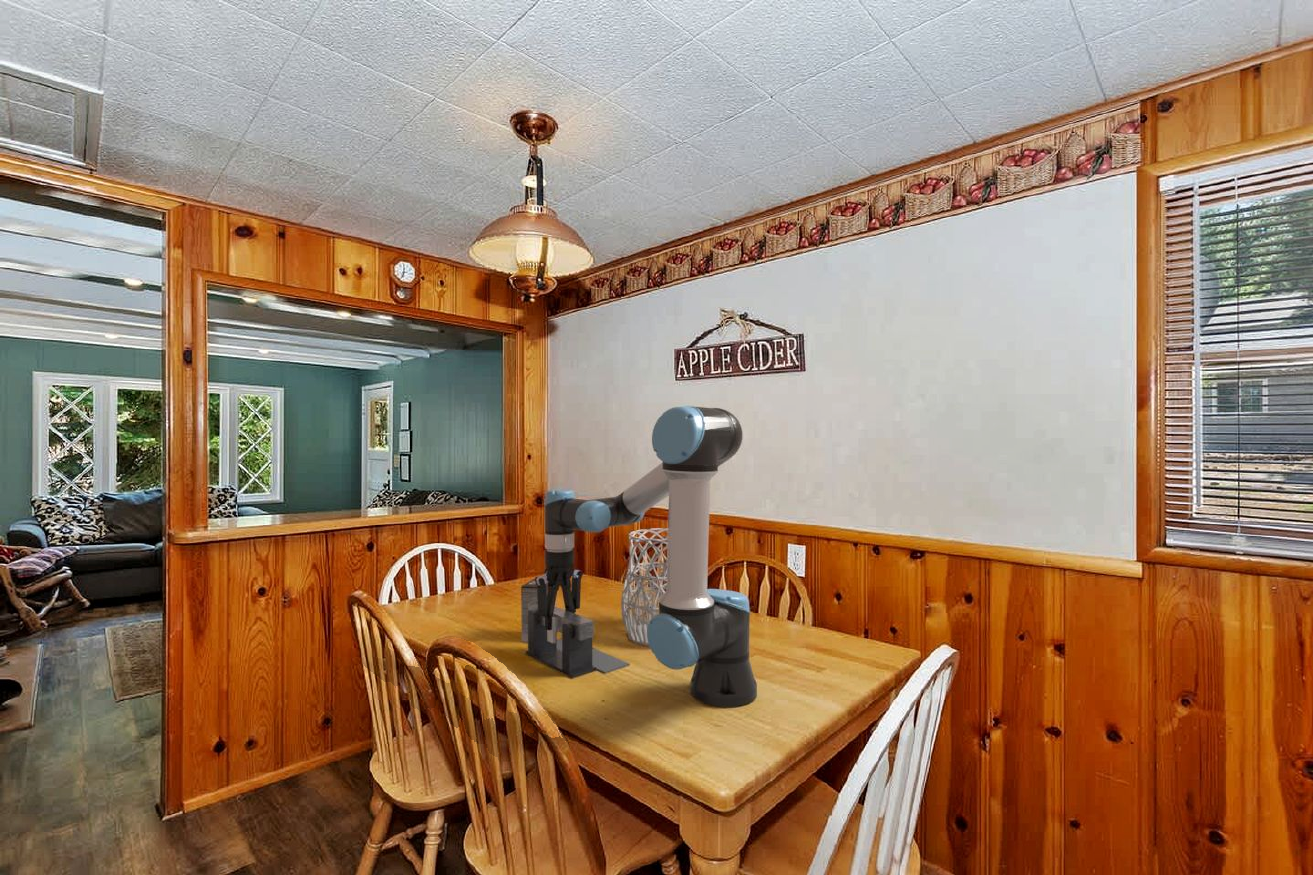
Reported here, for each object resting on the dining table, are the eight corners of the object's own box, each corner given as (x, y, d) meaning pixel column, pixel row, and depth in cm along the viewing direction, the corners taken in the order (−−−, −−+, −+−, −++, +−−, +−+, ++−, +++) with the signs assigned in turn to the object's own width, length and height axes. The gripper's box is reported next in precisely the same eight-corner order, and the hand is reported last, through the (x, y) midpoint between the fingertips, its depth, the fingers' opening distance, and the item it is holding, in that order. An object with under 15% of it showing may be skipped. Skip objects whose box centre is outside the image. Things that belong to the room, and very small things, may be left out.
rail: (593, 636, 148) (593, 620, 148) (580, 640, 145) (580, 624, 145) (540, 615, 166) (540, 601, 166) (528, 618, 163) (528, 603, 163)
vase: (658, 656, 160) (659, 543, 159) (604, 634, 178) (604, 532, 178) (720, 636, 175) (721, 533, 175) (665, 617, 194) (665, 524, 194)
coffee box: (533, 631, 179) (533, 578, 179) (553, 633, 178) (554, 579, 178) (520, 642, 170) (520, 585, 170) (541, 643, 169) (542, 586, 169)
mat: (629, 665, 154) (629, 663, 154) (605, 673, 148) (605, 671, 148) (566, 638, 174) (566, 636, 174) (543, 644, 169) (543, 643, 169)
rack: (595, 670, 150) (596, 622, 150) (572, 678, 145) (572, 628, 145) (547, 647, 166) (547, 604, 166) (525, 653, 161) (525, 609, 161)
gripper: (578, 543, 164) (577, 629, 164) (522, 551, 152) (522, 643, 152) (594, 547, 159) (594, 635, 159) (538, 555, 147) (538, 651, 147)
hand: (559, 639), depth 156 cm, fingers closed on rail, 4 cm apart
